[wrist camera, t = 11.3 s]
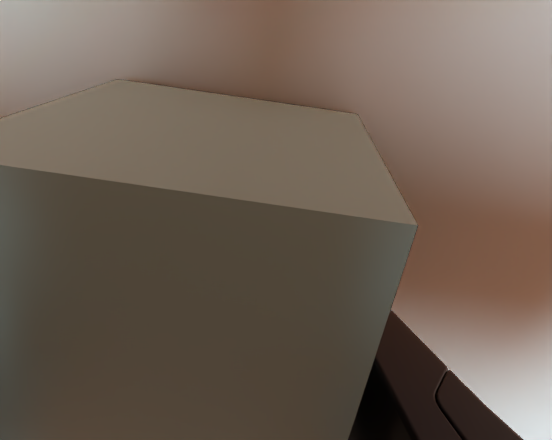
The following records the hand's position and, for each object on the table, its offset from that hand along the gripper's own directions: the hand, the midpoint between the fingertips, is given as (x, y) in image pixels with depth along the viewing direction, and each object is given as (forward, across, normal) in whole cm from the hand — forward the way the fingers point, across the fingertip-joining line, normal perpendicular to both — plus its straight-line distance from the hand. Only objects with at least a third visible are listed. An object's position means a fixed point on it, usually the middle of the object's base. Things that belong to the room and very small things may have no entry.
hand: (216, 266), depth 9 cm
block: (+1, 0, -1) cm, 1 cm away
